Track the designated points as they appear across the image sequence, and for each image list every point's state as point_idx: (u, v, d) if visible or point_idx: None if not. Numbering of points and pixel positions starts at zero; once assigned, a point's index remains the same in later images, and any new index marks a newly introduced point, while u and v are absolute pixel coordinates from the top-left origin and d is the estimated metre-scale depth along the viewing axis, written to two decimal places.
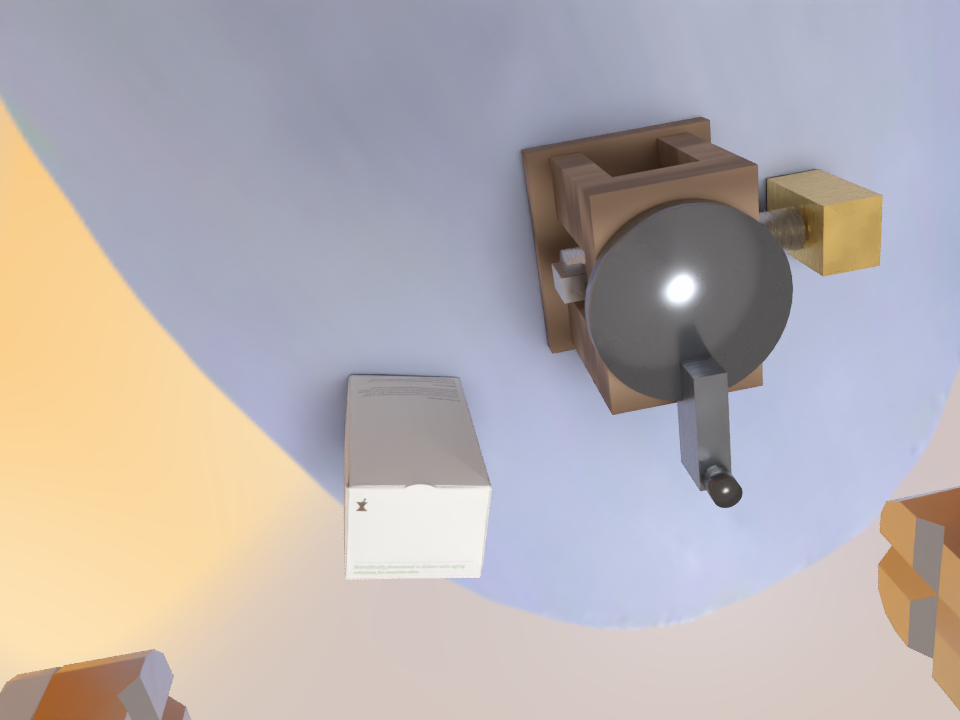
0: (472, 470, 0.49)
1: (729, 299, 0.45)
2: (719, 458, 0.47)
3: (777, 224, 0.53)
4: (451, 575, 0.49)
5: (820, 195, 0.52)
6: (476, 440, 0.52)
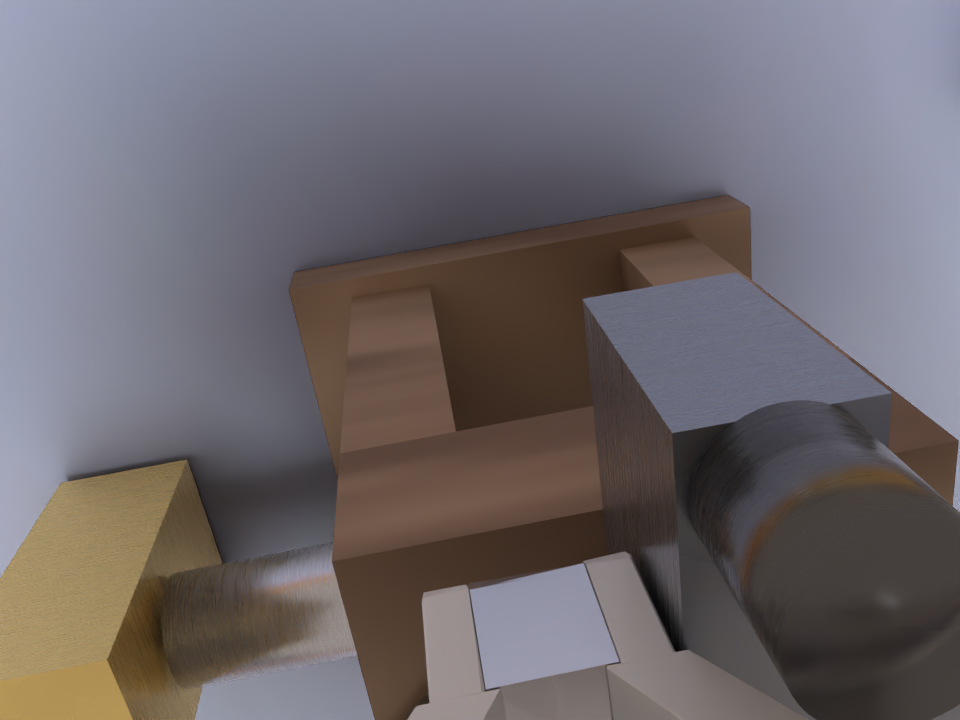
0: None
1: None
2: None
3: (252, 675, 0.20)
4: None
5: None
6: None
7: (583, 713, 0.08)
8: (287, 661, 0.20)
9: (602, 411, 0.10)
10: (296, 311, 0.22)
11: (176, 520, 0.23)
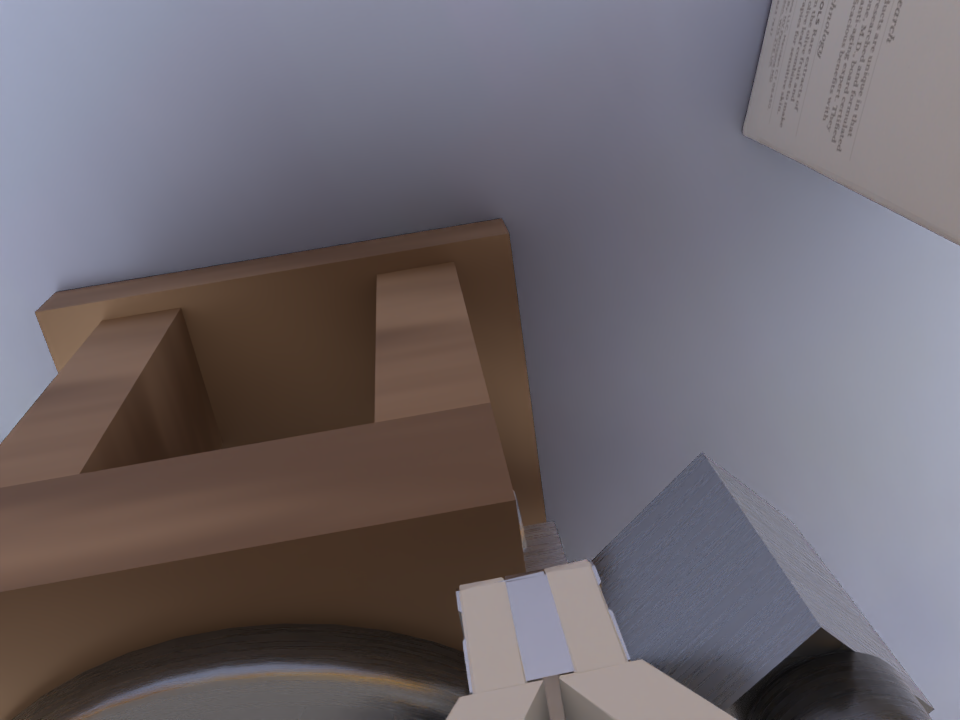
0: None
1: None
2: None
3: None
4: None
5: None
6: (953, 241, 0.14)
7: None
8: None
9: (650, 540, 0.11)
10: (45, 333, 0.21)
11: None
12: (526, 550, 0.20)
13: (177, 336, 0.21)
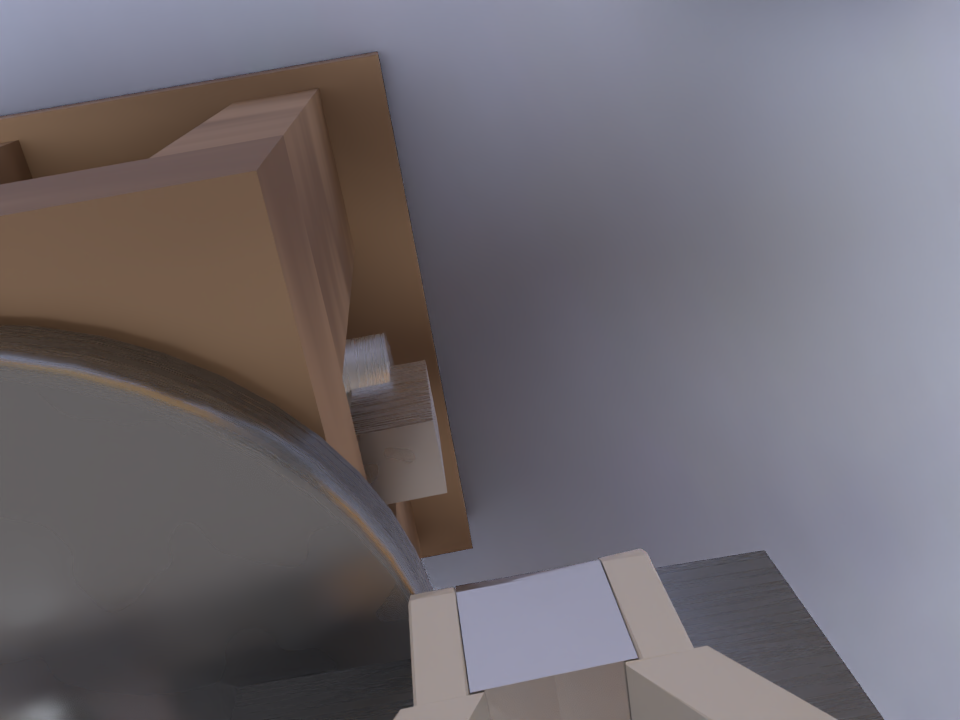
0: None
1: None
2: None
3: None
4: None
5: None
6: None
7: (569, 717, 0.08)
8: None
9: (694, 589, 0.11)
10: None
11: None
12: (388, 384, 0.18)
13: (8, 164, 0.19)
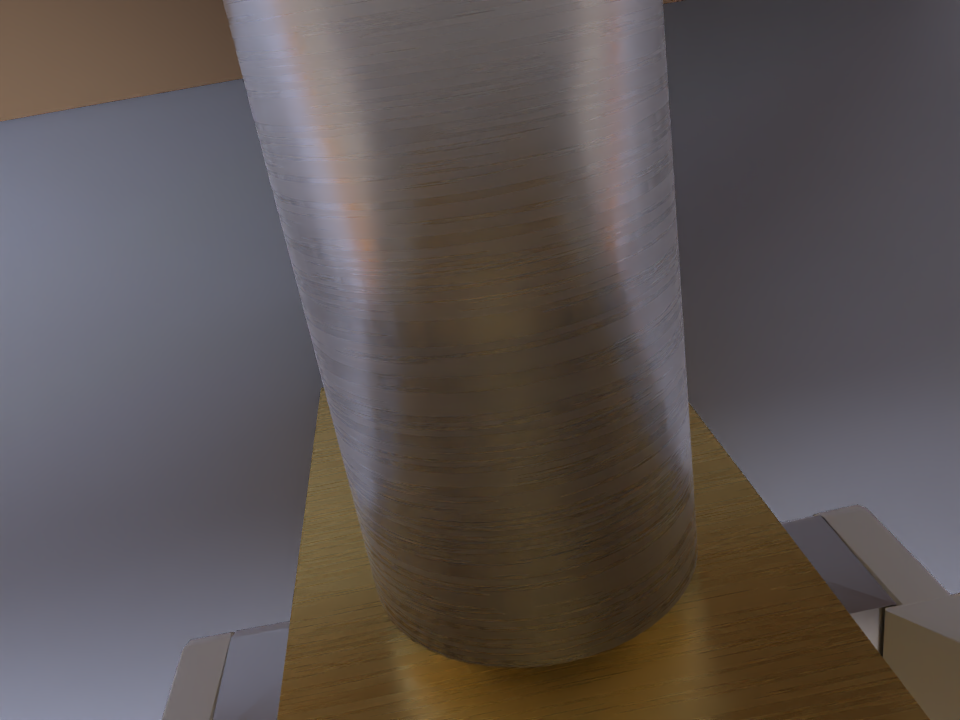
0: None
1: None
2: None
3: (649, 427, 0.06)
4: None
5: None
6: None
7: None
8: (589, 317, 0.05)
9: None
10: None
11: None
12: None
13: None
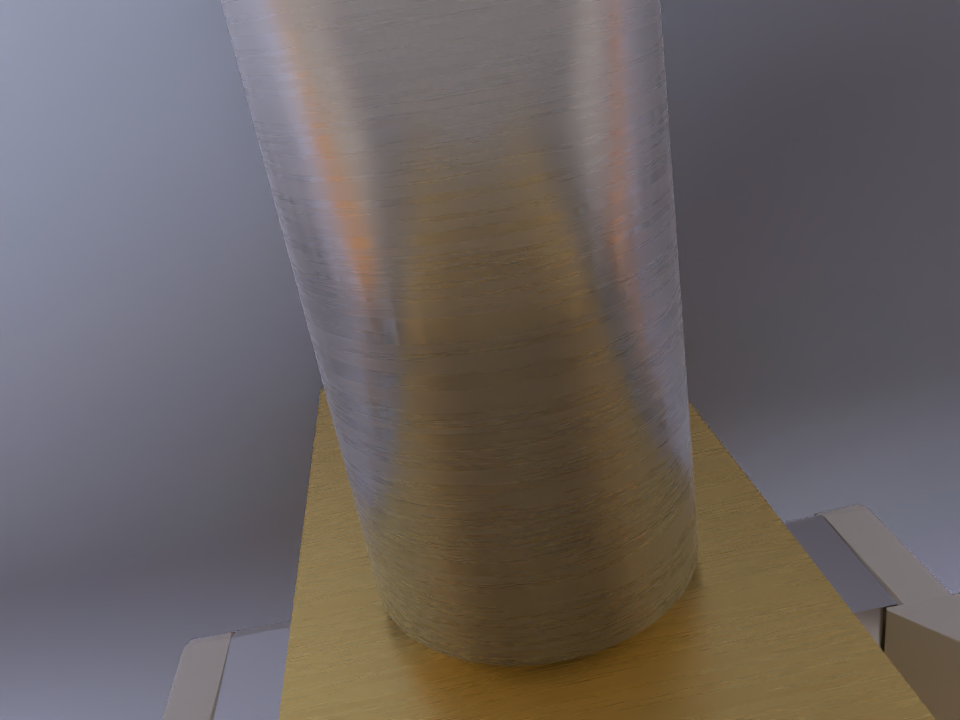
0: None
1: None
2: None
3: (649, 422, 0.06)
4: None
5: None
6: None
7: None
8: (587, 314, 0.05)
9: None
10: None
11: None
12: None
13: None
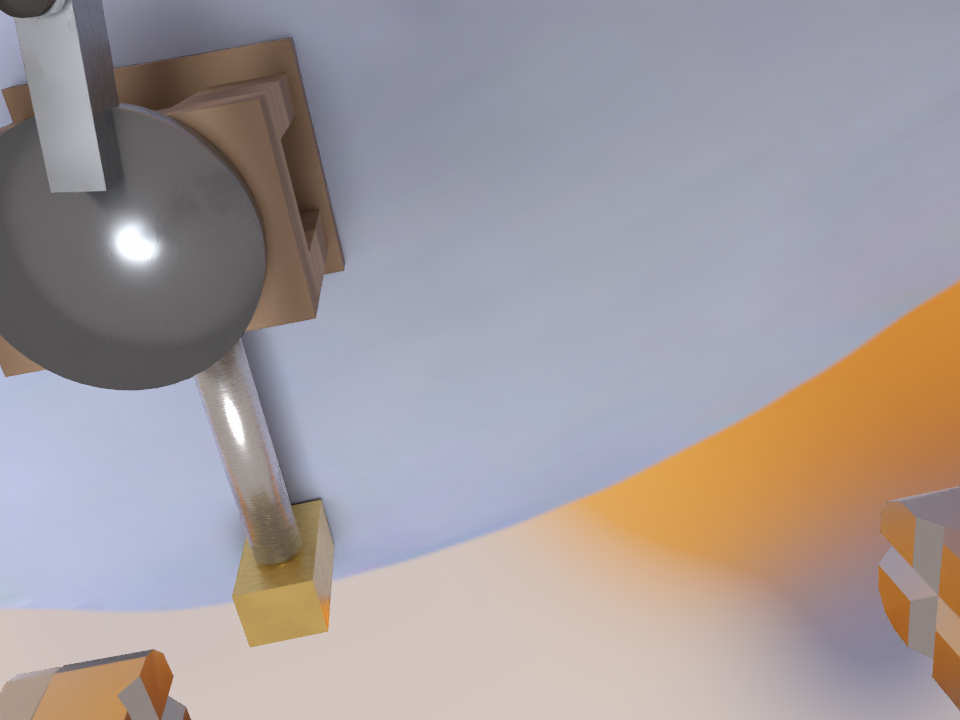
0: None
1: (57, 262, 0.32)
2: (37, 28, 0.27)
3: (283, 534, 0.47)
4: None
5: (318, 568, 0.48)
6: None
7: None
8: (271, 523, 0.47)
9: None
10: None
11: None
12: None
13: None
